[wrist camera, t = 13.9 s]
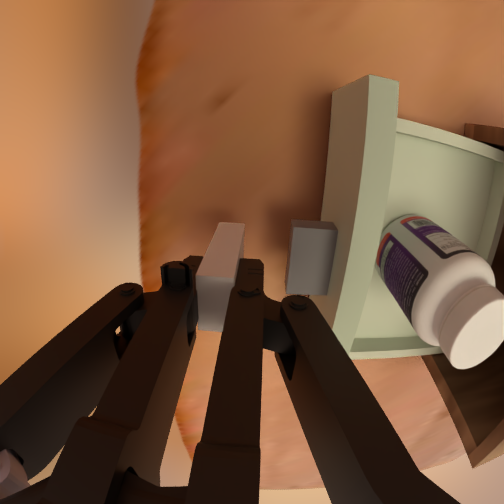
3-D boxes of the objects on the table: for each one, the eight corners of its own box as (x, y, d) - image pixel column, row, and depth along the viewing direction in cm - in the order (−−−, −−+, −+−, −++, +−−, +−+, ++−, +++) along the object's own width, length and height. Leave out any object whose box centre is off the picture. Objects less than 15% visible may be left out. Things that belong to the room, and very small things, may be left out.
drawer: (295, 87, 16) (312, 64, 10) (489, 134, 16) (552, 148, 10) (272, 341, 24) (273, 408, 18) (434, 339, 24) (464, 390, 17)
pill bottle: (397, 297, 20) (453, 394, 11) (357, 250, 19) (418, 349, 10) (449, 249, 18) (528, 326, 9) (415, 196, 17) (513, 259, 8)
